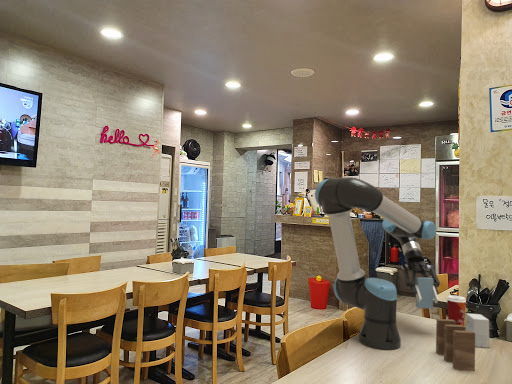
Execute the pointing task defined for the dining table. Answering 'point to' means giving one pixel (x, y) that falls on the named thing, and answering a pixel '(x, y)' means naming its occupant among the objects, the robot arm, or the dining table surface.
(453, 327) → the domino
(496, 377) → the dining table surface
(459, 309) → the paper cup
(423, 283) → the blue domino
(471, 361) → the domino
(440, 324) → the domino
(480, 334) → the small box
